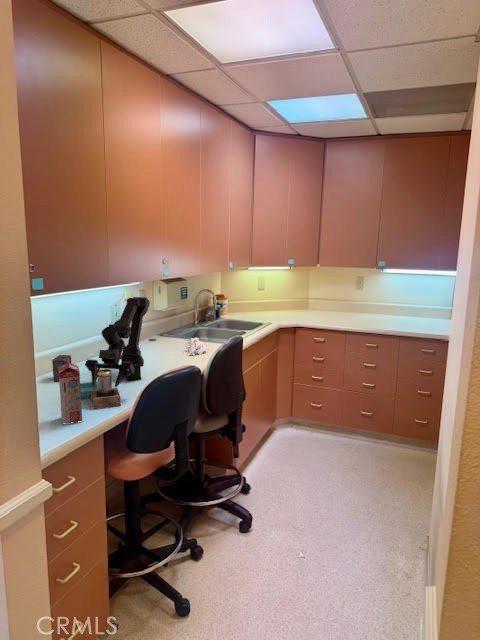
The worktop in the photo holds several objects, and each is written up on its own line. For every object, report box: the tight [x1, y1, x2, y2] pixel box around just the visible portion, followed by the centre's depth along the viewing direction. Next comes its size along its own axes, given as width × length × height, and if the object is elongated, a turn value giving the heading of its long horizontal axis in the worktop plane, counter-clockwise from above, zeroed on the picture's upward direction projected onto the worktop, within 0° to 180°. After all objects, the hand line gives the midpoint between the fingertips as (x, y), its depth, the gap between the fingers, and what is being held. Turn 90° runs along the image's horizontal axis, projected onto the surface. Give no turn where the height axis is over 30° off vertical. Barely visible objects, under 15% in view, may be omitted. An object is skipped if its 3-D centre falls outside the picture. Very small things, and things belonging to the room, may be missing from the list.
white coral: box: [183, 337, 208, 356], centre depth 244 cm, size 12×9×10 cm
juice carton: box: [58, 358, 83, 425], centre depth 152 cm, size 7×7×22 cm
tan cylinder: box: [97, 368, 113, 397], centre depth 169 cm, size 5×5×13 cm
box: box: [51, 354, 72, 383], centre depth 195 cm, size 8×6×11 cm
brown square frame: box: [90, 387, 122, 410], centre depth 170 cm, size 10×10×4 cm
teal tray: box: [80, 380, 99, 400], centre depth 179 cm, size 11×11×3 cm
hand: (104, 385), depth 168 cm, fingers open, 9 cm apart
